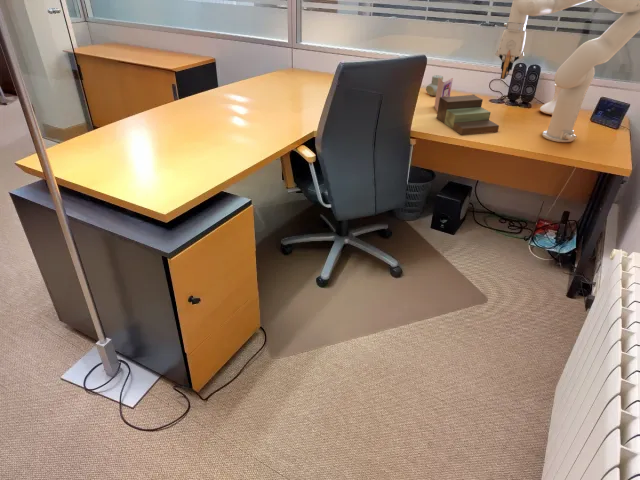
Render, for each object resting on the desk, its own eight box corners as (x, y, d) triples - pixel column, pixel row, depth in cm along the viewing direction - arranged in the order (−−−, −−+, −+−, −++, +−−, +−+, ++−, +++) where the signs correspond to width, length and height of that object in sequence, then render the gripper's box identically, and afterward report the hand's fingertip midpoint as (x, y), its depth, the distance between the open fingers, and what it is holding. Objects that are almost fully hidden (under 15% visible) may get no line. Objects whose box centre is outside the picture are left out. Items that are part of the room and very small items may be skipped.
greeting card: (440, 113, 214) (445, 82, 205) (426, 110, 218) (430, 80, 209) (449, 108, 221) (454, 78, 213) (436, 105, 225) (440, 75, 217)
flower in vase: (556, 118, 209) (574, 64, 195) (534, 112, 217) (549, 60, 203) (569, 113, 216) (586, 60, 202) (547, 107, 223) (562, 56, 209)
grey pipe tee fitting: (423, 93, 244) (425, 74, 239) (434, 91, 247) (437, 73, 242) (435, 98, 236) (438, 79, 231) (447, 96, 239) (450, 78, 234)
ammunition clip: (504, 79, 194) (511, 50, 188) (500, 78, 195) (506, 50, 188) (508, 74, 202) (515, 47, 195) (504, 74, 203) (511, 46, 196)
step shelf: (497, 132, 193) (503, 109, 187) (461, 135, 189) (466, 112, 184) (469, 115, 212) (473, 94, 207) (436, 117, 208) (439, 97, 203)
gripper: (495, 26, 187) (486, 70, 198) (534, 29, 181) (522, 74, 191) (499, 24, 193) (489, 67, 203) (536, 27, 186) (525, 71, 197)
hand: (505, 70), depth 197 cm, fingers closed on ammunition clip, 2 cm apart
